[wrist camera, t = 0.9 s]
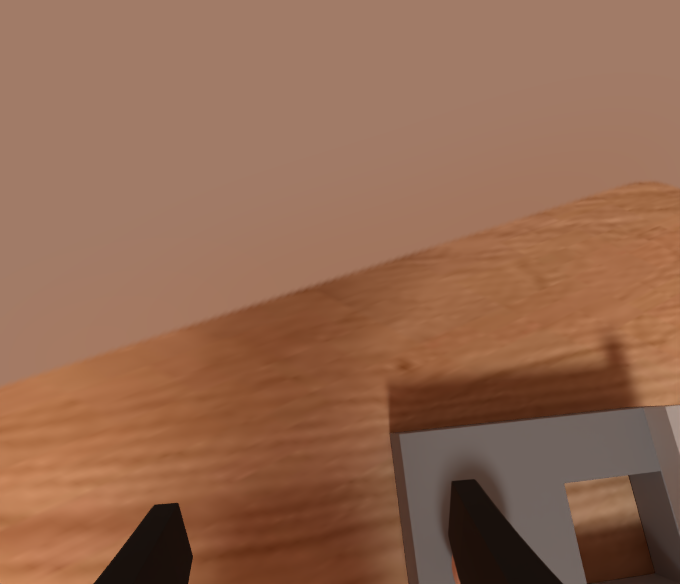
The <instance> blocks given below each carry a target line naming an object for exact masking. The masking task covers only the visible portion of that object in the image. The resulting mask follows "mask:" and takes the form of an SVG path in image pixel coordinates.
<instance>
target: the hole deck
mask: <svg viewBox="0 0 680 584" xmlns="http://www.w3.org/2000/svg"><path fill="white" fill-rule="evenodd" d="M390 439H391V447H392V455H393V463H394V471H395V479H396V487H397V495H398V503H399V511H400V519H401V527H402V535H403V543H404V551H405V559H406V567H407V575H408V583H409V584H456V583H455V580H454V577H453V573H452V550H451V546H450V541H449V537H448V528H449V512H450V497H451V482H452V481H457V480H470V479H475V480H476V481H477V482H478V483H479V484H480V486H481V487H482V488H483V490H484V491H485V492H486V494H487V495H488V496H489V497H490V499H491V500H492V501H493V503H494V504H495V505H496V507H497V508H498V509H499V510H500V512H501V513H502V514H503V515H504V517H505V518H506V519H507V520H508V521H509V523H510V524H511V525H512V526H513V528H514V529H515V530H516V531H517V532H518V534H519V535H520V536H521V537H522V538H523V539H524V541H525V542H526V543H527V544H528V545H529V546H530V547H531V549H532V550H533V551H534V552H535V553H536V554H537V556H538V557H539V558H540V559H541V560H542V561H543V562H544V563H545V564H546V566H547V567H548V568H549V569H550V570H551V571H552V572H553V573H554V574H555V575H556V576H557V577H558V579H559V580H560V581H561V582H562V583H563V584H587V582H586V578H585V573H584V569H583V565H582V560H581V556H580V552H579V547H578V543H577V538H576V534H575V530H574V525H573V521H572V517H571V512H570V508H569V503H568V499H567V495H566V490H565V486H564V483H570V482H578V481H586V480H594V479H601V478H609V477H617V476H625V475H629V477H630V481H631V485H632V488H633V492H634V496H635V500H636V503H637V507H638V511H639V514H640V518H641V522H642V526H643V529H644V533H645V537H646V540H647V544H648V548H649V552H650V555H651V559H652V563H653V566H654V570H655V574H648V575H642V576H636V577H629V578H623V579H616V580H610V581H604V582H597V583H591V584H680V405H665V406H644V407H627V408H618V409H609V410H600V411H590V412H581V413H572V414H563V415H553V416H544V417H535V418H526V419H517V420H507V421H498V422H489V423H480V424H470V425H461V426H452V427H443V428H434V429H424V430H415V431H406V432H397V433H390Z"/></svg>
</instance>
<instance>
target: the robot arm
mask: <svg viewBox="0 0 680 584" xmlns="http://www.w3.org/2000/svg"><path fill="white" fill-rule="evenodd" d="M448 537H449V541H450V546H451V550H452V554H453V558H454V562H455V566H456V570H457V574H458V578H459V581H460V584H563V583H562V582H561V581H560V580H559V579H558V577H557V576H556V575H555V574H554V573H553V572H552V571H551V570H550V569H549V568H548V567H547V566H546V564H545V563H544V562H543V561H542V560H541V559H540V558H539V557H538V556H537V554H536V553H535V552H534V551H533V550H532V549H531V547H530V546H529V545H528V544H527V543H526V542H525V541H524V539H523V538H522V537H521V536H520V535H519V534H518V532H517V531H516V530H515V529H514V528H513V526H512V525H511V524H510V523H509V521H508V520H507V519H506V518H505V517H504V515H503V514H502V513H501V512H500V510H499V509H498V508H497V507H496V505H495V504H494V503H493V501H492V500H491V499H490V497H489V496H488V495H487V494H486V492H485V491H484V490H483V488H482V487H481V486H480V484H479V483H478V482H477V481H476V480H475V479H470V480H457V481H452V482H451V497H450V512H449V528H448ZM192 559H193V555H192V551H191V548H190V544H189V540H188V537H187V533H186V529H185V526H184V522H183V518H182V515H181V511H180V507H179V504H178V503H171V504H158V505H154V506H153V507H152V508H151V510H150V511H149V512H148V514H147V515H146V516H145V518H144V519H143V520H142V522H141V523H140V524H139V526H138V527H137V528H136V530H135V531H134V532H133V534H132V535H131V536H130V538H129V539H128V540H127V542H126V543H125V544H124V546H123V547H122V548H121V549H120V551H119V552H118V553H117V555H116V556H115V557H114V559H113V560H112V561H111V562H110V564H109V565H108V566H107V568H106V569H105V570H104V571H103V573H102V574H101V575H100V576H99V578H98V579H97V580H96V581H95V583H94V584H188V581H189V575H190V570H191V564H192Z"/></svg>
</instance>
